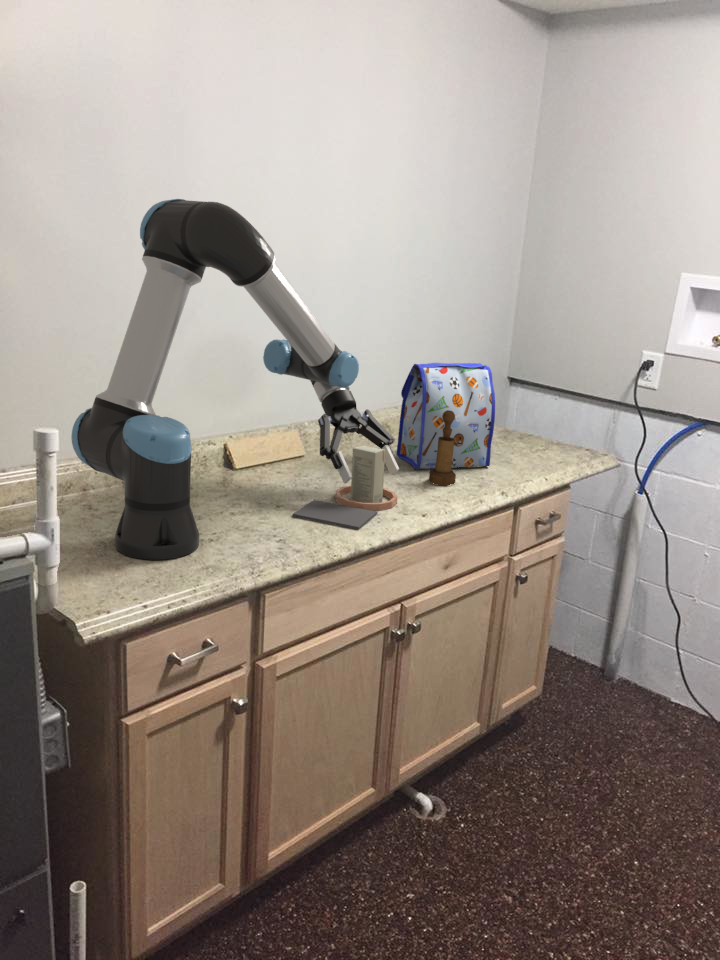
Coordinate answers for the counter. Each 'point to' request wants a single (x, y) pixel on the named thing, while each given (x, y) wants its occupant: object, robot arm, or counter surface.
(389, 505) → the pink polygonal ring
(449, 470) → the mortar and pestle
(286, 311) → the robot arm
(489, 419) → the lunch bag
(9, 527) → the counter surface
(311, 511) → the rubber mat
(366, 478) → the skincare box
